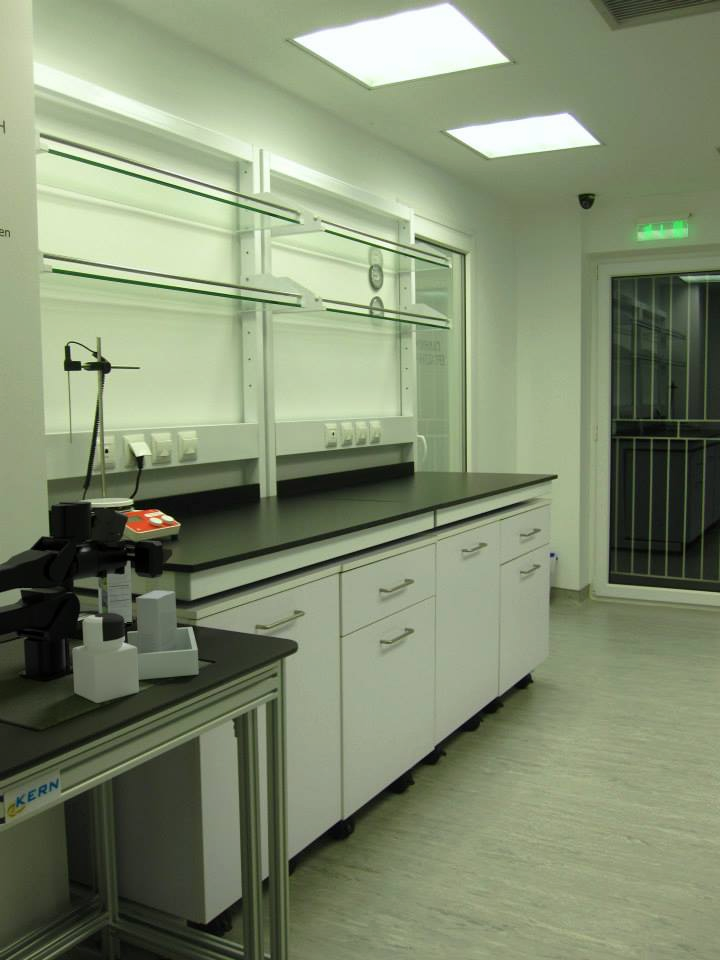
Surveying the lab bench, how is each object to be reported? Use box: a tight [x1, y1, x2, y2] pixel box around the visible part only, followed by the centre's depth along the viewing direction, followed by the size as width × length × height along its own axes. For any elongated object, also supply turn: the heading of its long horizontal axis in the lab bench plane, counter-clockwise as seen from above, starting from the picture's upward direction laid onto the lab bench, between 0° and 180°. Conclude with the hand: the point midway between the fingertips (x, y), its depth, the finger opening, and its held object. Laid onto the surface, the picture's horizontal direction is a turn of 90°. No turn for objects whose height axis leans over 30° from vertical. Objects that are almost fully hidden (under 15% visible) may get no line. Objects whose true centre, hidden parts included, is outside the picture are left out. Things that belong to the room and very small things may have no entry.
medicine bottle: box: [71, 612, 140, 704], centre depth 136 cm, size 7×7×12 cm
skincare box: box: [135, 589, 178, 654], centre depth 150 cm, size 6×4×12 cm
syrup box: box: [97, 561, 133, 623], centre depth 179 cm, size 6×6×14 cm
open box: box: [127, 626, 200, 681], centre depth 151 cm, size 11×16×4 cm
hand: (153, 550), depth 167 cm, fingers open, 9 cm apart
